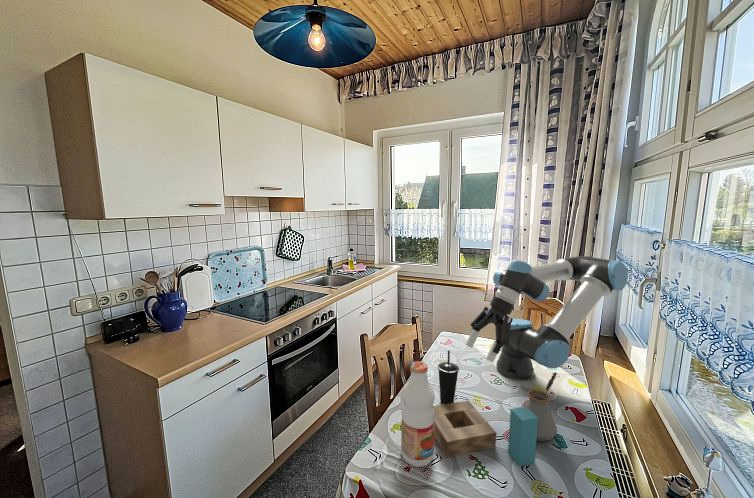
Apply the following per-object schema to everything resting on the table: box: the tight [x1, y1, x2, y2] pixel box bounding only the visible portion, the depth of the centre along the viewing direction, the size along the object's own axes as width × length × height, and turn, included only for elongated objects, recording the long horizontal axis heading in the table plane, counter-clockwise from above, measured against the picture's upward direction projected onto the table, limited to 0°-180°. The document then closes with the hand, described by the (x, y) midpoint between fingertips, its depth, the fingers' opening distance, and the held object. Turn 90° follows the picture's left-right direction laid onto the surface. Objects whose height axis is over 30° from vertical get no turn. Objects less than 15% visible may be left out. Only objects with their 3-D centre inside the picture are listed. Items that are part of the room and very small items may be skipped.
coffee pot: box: [523, 371, 560, 442], centre depth 102 cm, size 21×12×15 cm, turn 132°
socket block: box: [433, 400, 497, 458], centre depth 99 cm, size 16×16×5 cm
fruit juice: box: [400, 360, 435, 468], centre depth 89 cm, size 9×9×28 cm
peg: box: [507, 405, 538, 467], centre depth 89 cm, size 5×5×14 cm
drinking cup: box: [437, 350, 460, 405], centre depth 114 cm, size 8×8×20 cm
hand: (478, 353), depth 111 cm, fingers open, 13 cm apart
